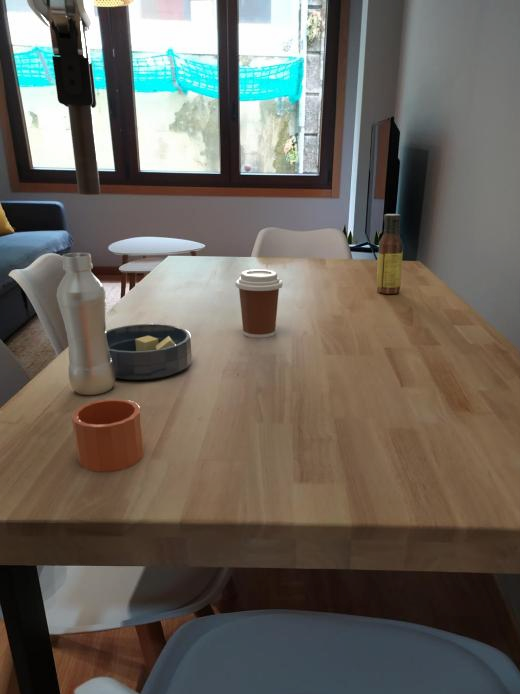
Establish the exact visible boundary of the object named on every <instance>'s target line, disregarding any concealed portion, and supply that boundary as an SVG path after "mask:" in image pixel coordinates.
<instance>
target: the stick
mask: <svg viewBox="0 0 520 694" xmlns="http://www.w3.org/2000/svg"><path fill="white" fill-rule="evenodd" d="M84 48H85V42H84ZM80 58H86V50H85V57H80ZM67 109H68V118H69V124H70V125H69V126H70V133H71V142H72V150H73V152H72V153H73V158H74V167H75V168H74V169H75V177H76V185H77V192H78V195H87V196H89V195H90V196H93V195H101V186H100V176H99V175H100V174H99V167H98V166H99V165H98V156H97V147H96V137H95V129H94V120H93V119H94V118H93V111H92V110H93V108H91V105H68V107H67Z"/></svg>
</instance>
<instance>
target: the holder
mask: <svg viewBox="0 0 520 694" xmlns="http://www.w3.org/2000/svg"><path fill="white" fill-rule="evenodd" d="M142 422H143V421H142V413H141V406H139V404H138V403H136V402H135V401H131V400H129V399H122V398H107V399H99V400H94V401H90V402H88V403H85V404H83V405H80V406H79V407H77V408H76V409H75V410H74V411H73V413H72V416H71V423H72V430H73V436H74V437H73V438H74V444H75V449H76V456H77V461H78V463H79V465H80V466H81V467H82V468H83V469H85V470H87V471H91V472H96V473H110V472H116V471H121V470H124V469H127V468H130V467H131V466H134V465H135V464H137V463H139V462H140V460H142V458H143V457H144V455H145V443H144V433H143V432H144V431H143V423H142Z"/></svg>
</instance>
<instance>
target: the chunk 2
mask: <svg viewBox="0 0 520 694" xmlns="http://www.w3.org/2000/svg"><path fill="white" fill-rule="evenodd" d="M174 345H176V344H175V343H174V341H173V340H172V339H171V338H170V337H169V336H168V337H167V338H165V339H164V340H163V341H161V342H160V343H159V344H157V345H156V349H163V348H167V347H171V346H174Z"/></svg>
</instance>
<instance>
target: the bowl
mask: <svg viewBox="0 0 520 694" xmlns="http://www.w3.org/2000/svg"><path fill="white" fill-rule="evenodd" d="M145 336H151V337H154V338H157V339H158V343H160V342H161V341H163V340H164V339H165V338H167V337H168V336H169V337H170V338H171V339H172V340H173V341H174V343H175V344H176V345H174V346H171V347H167V348H163V349H157V350H150V351H136V342H135V339H137V338H141V337H145ZM106 337H107V342H108V347H109V352H110V356H111V359H112V362H113V365H114V369H115V373H116V374H115V379H120V380H125V381H126V380H128V381H148V380H155V379H161V378H166V377H169V376H172V375H175V374H177V373H180V372H182V371H183V370H185V369H187V368H188V367H189V366H190V365H191V364H192V363H193V359H192V341H191V340H192V339H191V333H190V332H189V331H188V330H187V329H186V328H182V327H180V326H176V325H172V324H165V323H164V324H163V323H140V324H138V323H137V324H129V325H123V326H119V327H118V326H117V327H114V328H110V329H108V330H106Z"/></svg>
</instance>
